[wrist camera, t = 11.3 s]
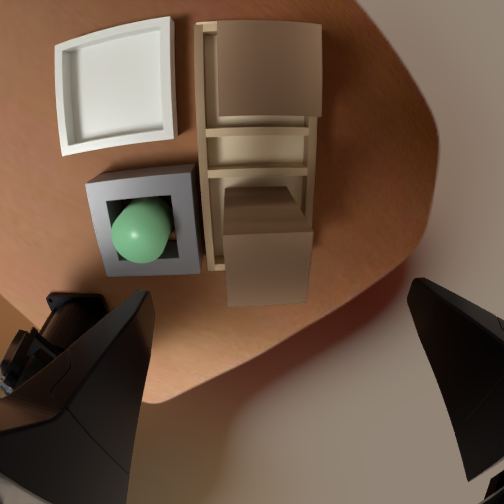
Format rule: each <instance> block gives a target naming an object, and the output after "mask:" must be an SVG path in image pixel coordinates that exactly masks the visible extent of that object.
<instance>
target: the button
mask: <svg viewBox="0 0 504 504" xmlns="http://www.w3.org/2000/svg"><path fill="white" fill-rule="evenodd" d="M173 224H174V216H173V212H172V210H171V208H170V206H169V205H168V204H167V203H166V202H165V201H164V200H163V199H162V198H160V197H158V196H152V197H140V198H134V199H133V200H132V201H131V202H130V203H129V204H128V206H127V207H126V208H125V209H124V210H123V212H122V213H121V214H120V215H119V216H118V218H117V219H116V220H115V222H114V223H113V226H112V229H111V238H112V242H113V245H114V247H115V248H116V250H117V251H118V252H119V254H120V255H122V256H123V257H124V258H126V259H127V260H129V261H132V262H135V263H148V262H152V261H154V260H156V259H157V258H158V257H159V256H160V255H161V254H162V253H163V251H164V249H165V246H166V243H167V241H168V238H169V235H170V233H171V230H172V228H173Z"/></svg>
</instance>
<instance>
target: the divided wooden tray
mask: <svg viewBox="0 0 504 504" xmlns="http://www.w3.org/2000/svg"><path fill="white" fill-rule="evenodd" d="M194 66H195V99H196V122H197V141H198V158H199V173H200V187H201V200H202V213H203V224H204V235H205V246H206V256H207V266H208V271H222V270H225V263H224V247H223V216H224V193H225V188H239V187H276V186H286V187H287V188H288V190H289V192H290V193H291V195H292V196H293V198H294V200H295V201H296V203H297V205H298V206H299V208H300V210H301V211H302V213H303V215H304V216H305V218H306V220H307V221H308V223H309V225H310V227H311V228H312V216H313V202H314V186H315V167H316V144H317V117H311V116H276V115H258V116H223V117H219V107H218V68H217V21H210V22H197V23H196V25H194Z"/></svg>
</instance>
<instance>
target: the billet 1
mask: <svg viewBox="0 0 504 504" xmlns="http://www.w3.org/2000/svg"><path fill="white" fill-rule="evenodd" d="M217 68H218V107H219V117H223V116H258V115H276V116H311V117H322V27H321V24H313V23H304V22H292V21H275V20H222V21H217Z"/></svg>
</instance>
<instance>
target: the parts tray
mask: <svg viewBox="0 0 504 504" xmlns="http://www.w3.org/2000/svg"><path fill="white" fill-rule="evenodd" d="M55 88H56V105H57V117H58V127H59V136H60V144H61V151H62V156H65V155H70V154H75V153H80V152H85V151H90V150H96V149H101V148H107V147H114V146H120V145H127V144H134V143H141V142H149V141H158V140H167V139H174V138H176V137H177V136H178V126H177V109H176V86H175V40H174V21H173V20H172V18H171V17H170V16H168V17H161V18H155V19H149V20H144V21H139V22H134V23H129V24H125V25H120V26H116V27H112V28H108V29H105V30H101V31H97V32H94V33H90V34H87V35H84V36H81V37H78V38H75V39H72V40H69V41H66V42H63V43H60V44H58V45H55Z"/></svg>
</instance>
